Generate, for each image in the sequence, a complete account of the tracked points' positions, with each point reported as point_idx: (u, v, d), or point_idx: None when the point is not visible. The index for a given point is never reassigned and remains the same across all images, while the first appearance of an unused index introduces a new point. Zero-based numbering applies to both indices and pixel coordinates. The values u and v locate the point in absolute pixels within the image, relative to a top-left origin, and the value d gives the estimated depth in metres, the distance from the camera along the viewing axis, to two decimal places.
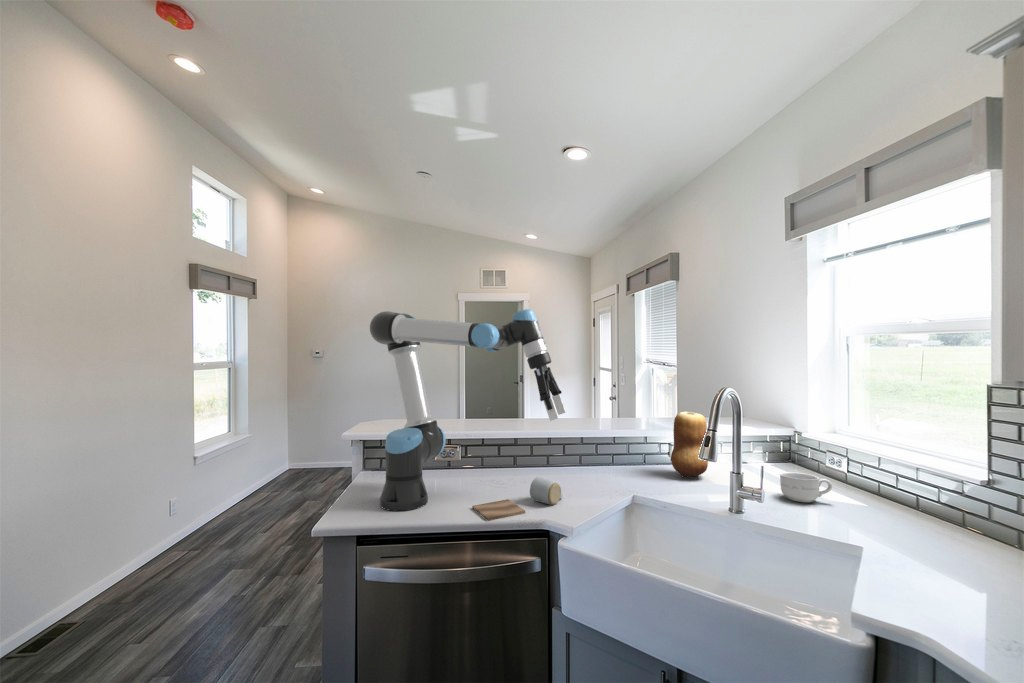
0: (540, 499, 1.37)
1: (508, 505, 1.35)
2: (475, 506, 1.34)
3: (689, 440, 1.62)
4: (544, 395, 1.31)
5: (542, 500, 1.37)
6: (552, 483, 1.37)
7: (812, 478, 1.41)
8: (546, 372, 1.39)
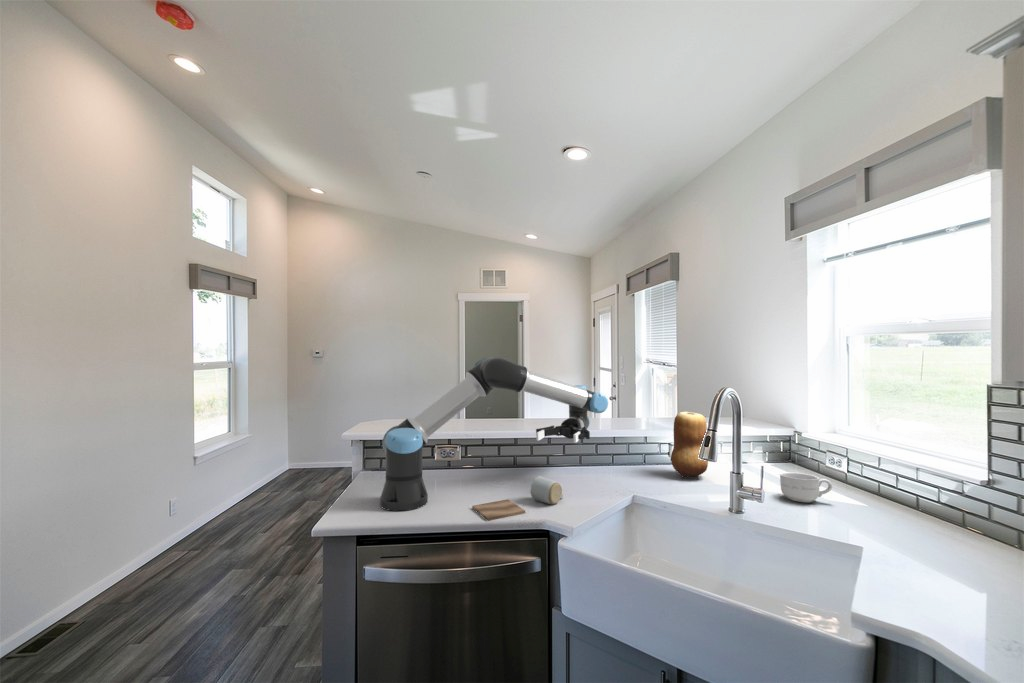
0: (541, 499, 1.38)
1: (508, 505, 1.35)
2: (475, 506, 1.34)
3: (689, 440, 1.62)
4: None
5: (543, 500, 1.37)
6: (553, 483, 1.38)
7: (812, 478, 1.41)
8: None
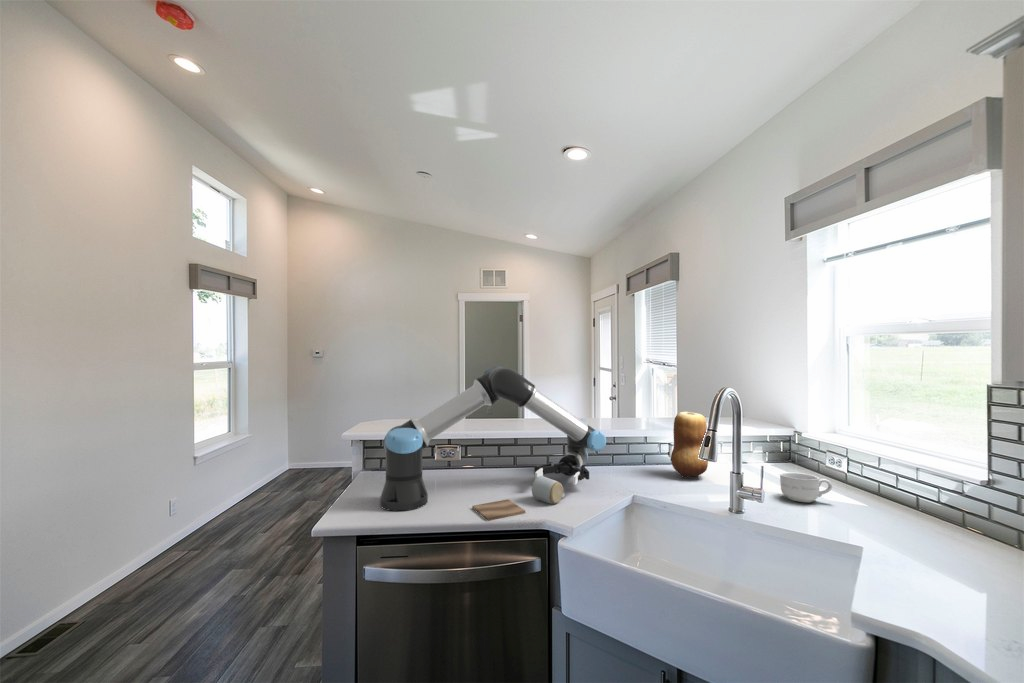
0: (542, 498, 1.38)
1: (508, 505, 1.35)
2: (475, 506, 1.34)
3: (689, 440, 1.62)
4: None
5: (544, 499, 1.38)
6: (554, 482, 1.38)
7: (812, 478, 1.41)
8: None
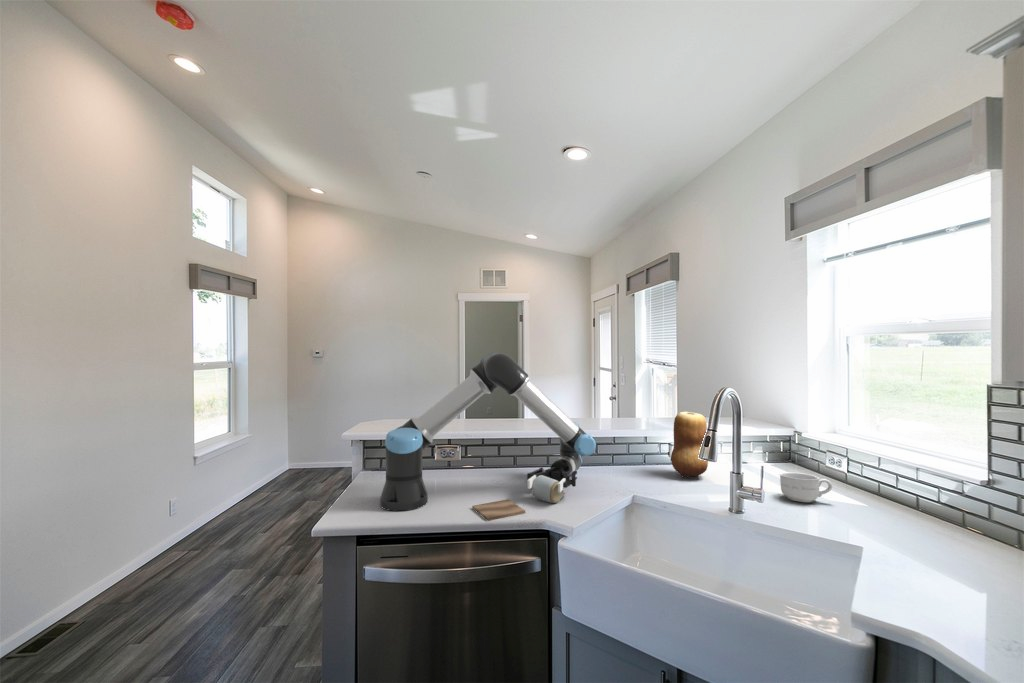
0: (542, 497, 1.39)
1: (508, 505, 1.35)
2: (475, 506, 1.34)
3: (689, 440, 1.62)
4: None
5: (544, 498, 1.38)
6: (554, 482, 1.39)
7: (812, 478, 1.41)
8: None
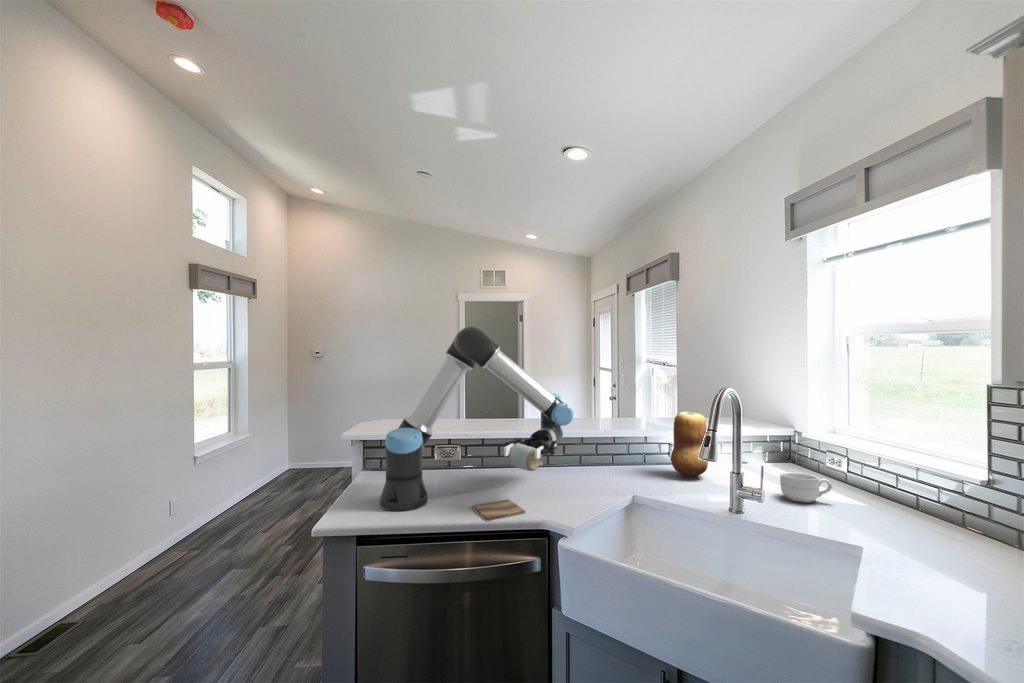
0: (519, 465, 1.35)
1: (508, 505, 1.35)
2: (475, 506, 1.34)
3: (689, 440, 1.62)
4: (553, 450, 1.37)
5: (521, 466, 1.34)
6: (531, 449, 1.34)
7: (812, 478, 1.41)
8: None
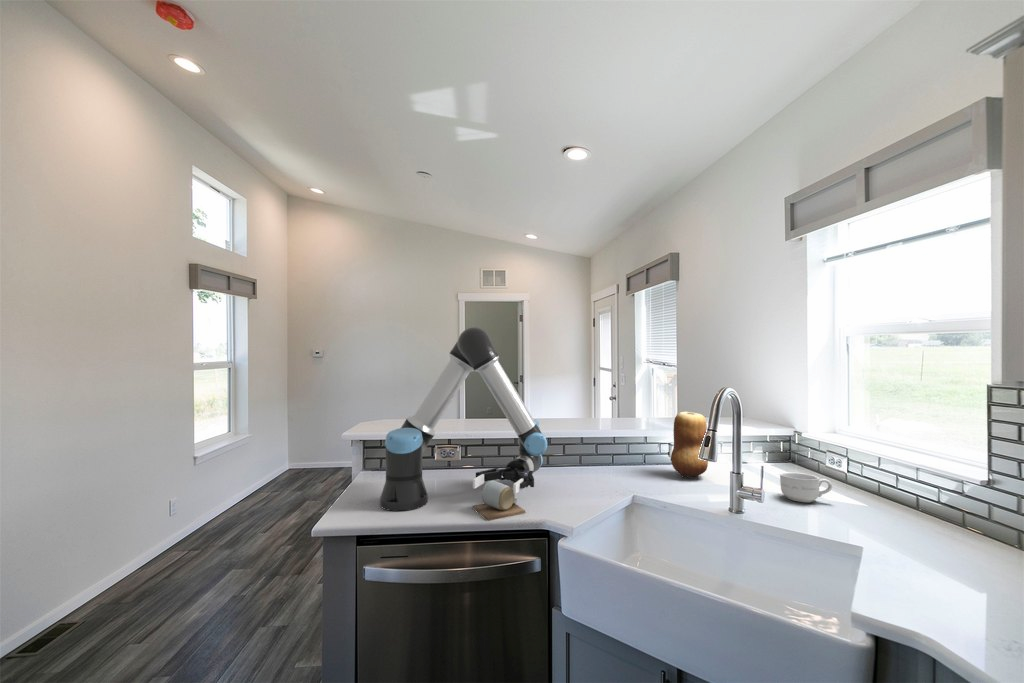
0: (491, 504, 1.30)
1: None
2: (475, 506, 1.34)
3: (689, 440, 1.62)
4: (533, 483, 1.33)
5: (493, 505, 1.30)
6: (504, 487, 1.30)
7: (812, 478, 1.41)
8: None
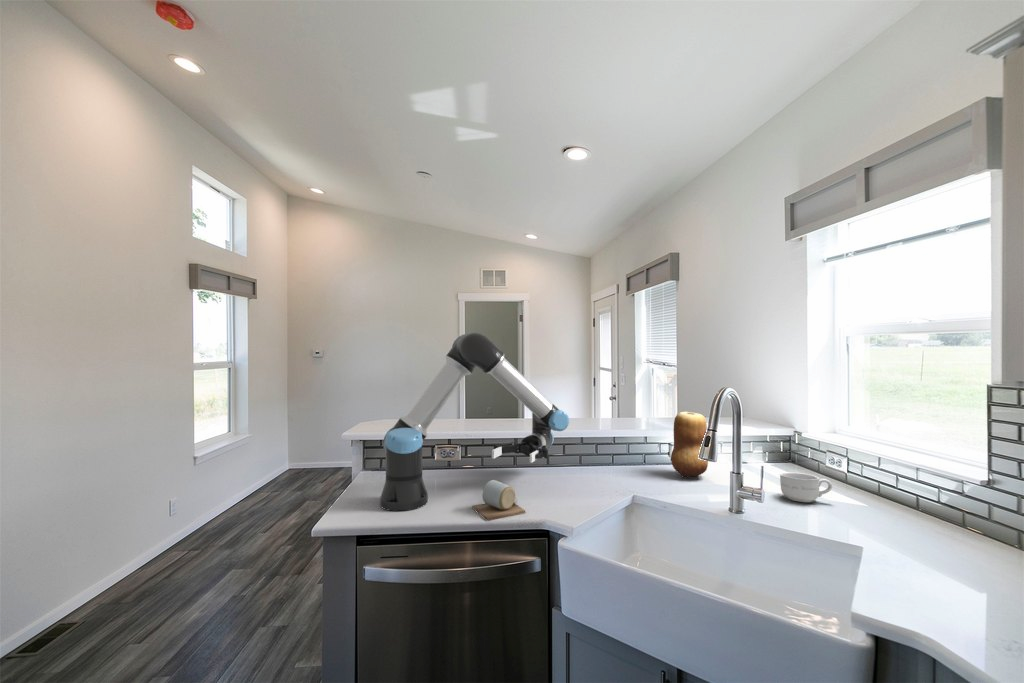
0: (492, 504, 1.31)
1: None
2: (475, 506, 1.34)
3: (689, 440, 1.63)
4: (547, 455, 1.46)
5: (494, 505, 1.30)
6: (505, 487, 1.31)
7: (812, 478, 1.41)
8: None
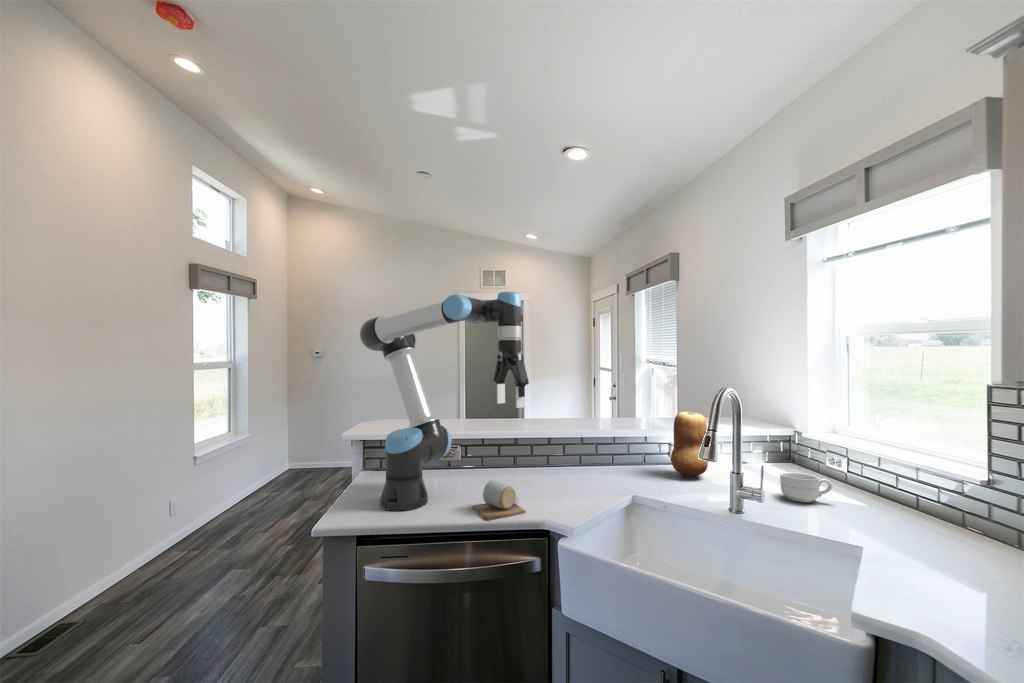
0: (493, 503, 1.31)
1: None
2: (475, 506, 1.34)
3: (689, 440, 1.62)
4: (525, 381, 1.31)
5: (495, 504, 1.31)
6: (505, 487, 1.31)
7: (812, 478, 1.41)
8: None
